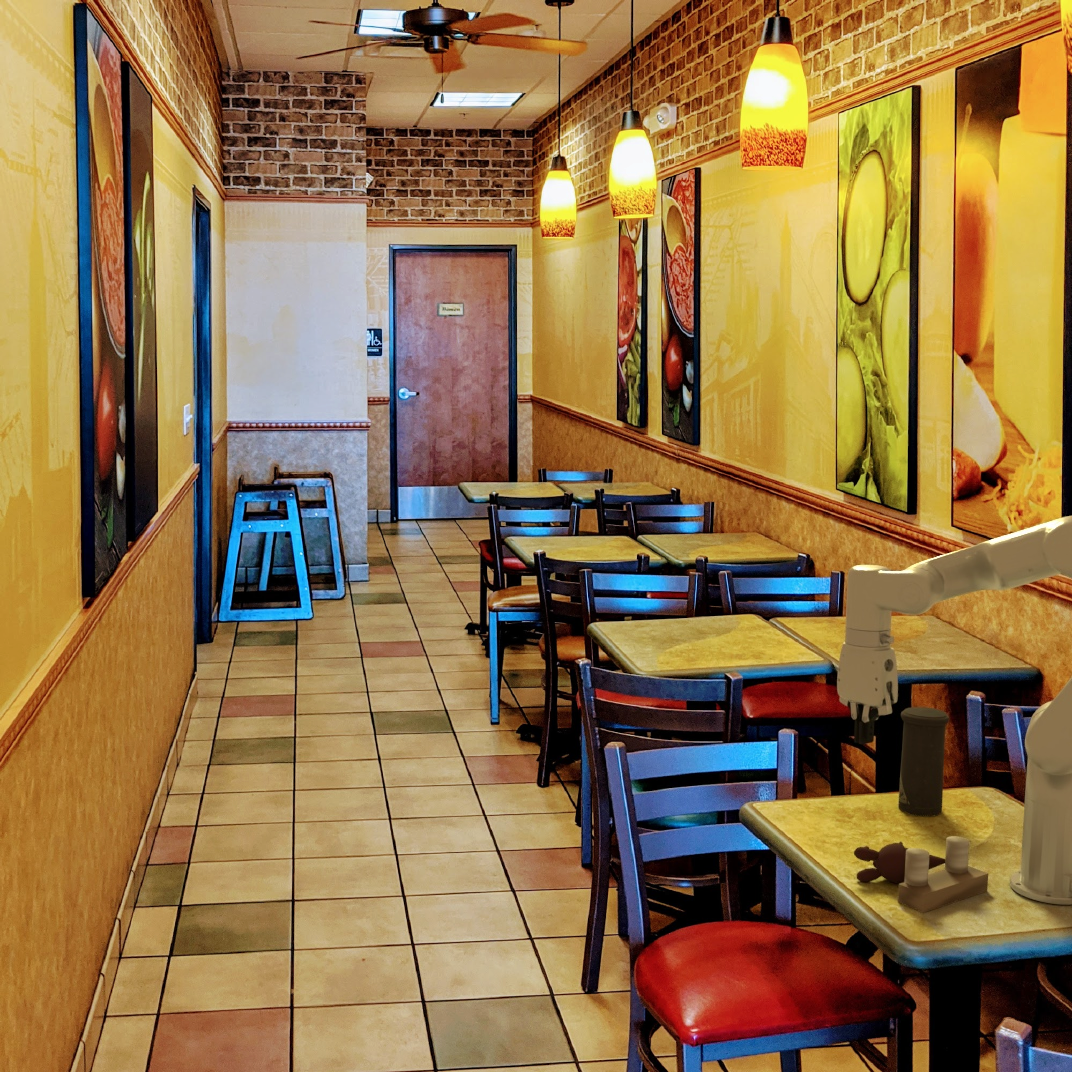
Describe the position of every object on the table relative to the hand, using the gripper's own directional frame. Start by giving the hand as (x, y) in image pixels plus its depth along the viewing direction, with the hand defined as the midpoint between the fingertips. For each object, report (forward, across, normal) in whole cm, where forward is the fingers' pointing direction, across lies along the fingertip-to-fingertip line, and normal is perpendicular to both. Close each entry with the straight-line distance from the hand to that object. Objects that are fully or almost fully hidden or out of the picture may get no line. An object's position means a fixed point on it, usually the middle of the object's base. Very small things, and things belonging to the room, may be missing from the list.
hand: (863, 742), depth 224 cm
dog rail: (+21, -19, +1) cm, 28 cm away
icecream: (+21, -11, +2) cm, 24 cm away
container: (+21, +11, -30) cm, 38 cm away
